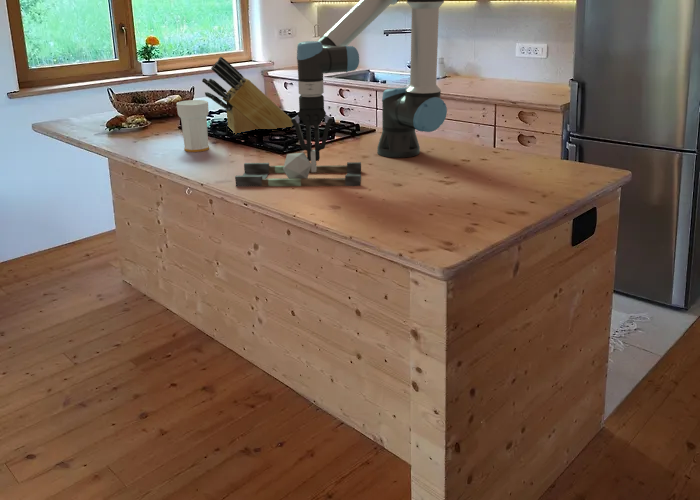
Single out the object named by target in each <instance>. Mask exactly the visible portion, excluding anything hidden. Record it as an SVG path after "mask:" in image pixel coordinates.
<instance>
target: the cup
mask: <svg viewBox="0 0 700 500" xmlns="http://www.w3.org/2000/svg"><path fill="white" fill-rule="evenodd" d="M176 110H177V111H176V112H177V116H178V117H179V118H180V121H181V129H182V136H183V143H184V144H183V145H184V146H183V147H184V148H183V149H184V151H185V152H188V153H201V152H206V151H208V150H210V145H209V139H208V136H209V135H208V122H207V121H208V120H207V117H208V115H209V113H210V111H209V102H208V100H204V99H203V100H202V99H190V100H189V99H188V100H181V101H178V102H176Z"/></svg>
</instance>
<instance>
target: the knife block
mask: <svg viewBox="0 0 700 500" xmlns="http://www.w3.org/2000/svg"><path fill="white" fill-rule="evenodd" d="M210 69H211V70H212V71H213V72H214V73H215V74H216V75H217V76H218V77H219V78H220V79H222V80H223V81H224V82H225V83H226V84H227V85H229V86H230V87H231V88H229V90H226V89H225V88H224V87H222V85H221V84H219V83H218V82H217V81H216V80H215V79H212V78H209V79H206V78H204V77H203V78H202V80H201V81H202V83H204V84H205V85H206V86H207V87H208V88H209V89H211V90H212V91H213V92H214V93H216V94H217V95H218V96H220V97H222V99H220V98H219V97H218V96H216V95H215V94H212V93H211V92H204V95H205V97H207V98H209V99H211V100H212V101H213V102H215V103H216V104H217V105H219V106H220V107H222V108H224V109H226V118H227V127H229V128H230V129H231V130H232V131H233V134H234V133H235V134H234V135H236V134H237V133H241V132H245V131H250V130H255V129H277V128H286V127H291V128H292V127H293V126H294V125H293V123H292V122H291V120H292V117H290V116H289V115H288V114H287V113H286V112H284V110H282V109H281V108H280V107H279V106H278V105H277V104H276V103H275V102H274V101H273V100H272V99H270V98H269V97H268V96H267V95H266V94H265V93H264V92H263V91H262V90H261V89H260V88H258V87H257V86H256V85H255V84H254V83H253V82H252V81H251V80H249V79H248V78H245V76H243V75H242V73H240V72H239V70H238V69H236V68H235V67H234V66H233V65H232V64H231V63H230V62H229V61H227V60H226V59H225V58H224V57H222V56H220V57H219V58H218V60H217V61H216V62H215V63H214V65H212V66H211V68H210Z"/></svg>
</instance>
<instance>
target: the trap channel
mask: <svg viewBox="0 0 700 500" xmlns="http://www.w3.org/2000/svg"><path fill="white" fill-rule="evenodd" d="M243 167H244V168H243V169H244V171H243V172H244V173H243V174H242V175H235V176H234V181H235V187H360V186H361V179H362V162H361V161H360V162H357V161H356V162H355V161H353V162H351V161H349V162H347V163H346V164H345V165H341V164H339V165H334V164H333V165H332V164H331V165H316V168H317V170H316V172H311V168H310V171H309V174H310V173H311V174H315V173H316V174H317V173H318V174H319V173H321V174H324V173H325V174H327V173H328V174H329V173H333V174H335V173H336V174H337V173H340V174H341V173H343V174H345V173H346V174H345V175H344V177H342V178H341V177H339V178H338V177H337V178H335V177H328V178H327V177H319V178H317V177H316V178H315V177H313V178H312V177H311V178H310V177H308V178H288V177H287V178H282V177H281V178H280V177H279V178H268V176H269V174H286V173H285V172H284V170H283V167H284V165H270V162H244V163H243Z"/></svg>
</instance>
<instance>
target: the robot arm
mask: <svg viewBox="0 0 700 500" xmlns="http://www.w3.org/2000/svg"><path fill="white" fill-rule="evenodd" d="M399 1H400V0H359V1H357V3H356V4H355V5H354V6H352V8H351V9H350V10H349V11H348V12H347V13H345V15H343V16H342V17H340V19H339V20H338V21H337V22H336V23H335V24H334V25H333V26H332V27H330V29H329V30H328V31H327V32H326V33H324V35H323V36H321V37H319V39H318V40H317V41H315V40H311V41H310V40H309V41H308V40H307V41H300V42H299V43H298V44H297V47H296V48H297V49H296V61H297V62H296V63H297V74H298V75H297V78H298V81H297V83H298V85H297V87H298V94H299V97H298V105H299V108H298V112H297V115H296V116H295V117H291V119H292V120H291V122H292V123H293V126H294V129H295V132H296V135H297V138H298V139H297V140H298V142H299V145H300V148H301V150H305V151H306V157H307V159H308V160H309V161H310V163H311V172H316V170H317V168H316V166H317V162H319V161H320V158H321V157H320V151H321V150H324V149H325V148H326V144H327V138H328V134H329V130H330V126H331V124H332V123H333V120H334V118H333V116H329V115H328V114H327V112H326V111H325V96H324V95H323V94H325V93H324V92H325V91H324V74H325V75H326V74H334V73H335V74H336V73H348V72H354V71H356V70H357V69H358V68H359V65H360V54H359V51H358V49H357V48H356V47H355V46H353V45H350V44H351V43H352V42H353V41H354V40H355V39H356V38H357V37H358V36H359V35H360V34H361V33H362V32H363V31H365V30H366V28H367V27H369V26H370V24H372V22H374V21H375V20H376V19H377V17H379V16H380V15H381V14H382V13H383V12H384V11H385V10H386V9H387V8H388V7H389V6H391V5H393V6H394V5H396V4H397V3H398V2H399ZM444 2H445V0H406V3H407V5H408V6H410V8H411V28H410V29H411V31H410V35H411V36H410V39H411V40H410V72H409V73H410V75H409V78H410V80H409V81H410V82H409V85H408V86H406V87H405V86H403V87H394V88H387V89H384V91H382V97H381V98H382V99H381V102H382V104H381V105H382V114H381V115H382V122H381V123H382V124H381V125H382V126H381V127H382V132H381V134H380V138H379V141H378V145H377V154H378V155H380V156H382V157H386V158H397V159H398V158H401V159H403V158H410V157H411V158H412V157H415V156H418V155H419V154H421V153H420V152H421V151H420V150H421V149H420V143H419V140H418V137H417V134H416V131H419V132H421V133H423V132H425V133H431V132H435V131H436V130H438V129H440V127H441V126H442V125H443V124H444V122H445V120H446V118H447V114H448V113H447V112H448V107H447V104H446V103H445V102H444V101H445V100H443V99H442V98H441V96H442V95H441V94H442V93H441V92H442V91H441V88H440V87H439V86H438V85H437V79H438V78H437V77H438V76H437V74H438V73H437V71H438V70H437V69H438V45H439V44H438V42H439V41H438V40H439V39H438V38H439V19H440V17H439V14H440V13H439V12H440V11H439V10H440V8H441V6H442V5H443V4H444ZM349 45H350V46H349ZM300 120H301V121H300ZM323 120H324V123H325V126H324V130H323V135H322V140H321V144H320V124H321V123H322V122H323ZM300 122H302V124H304V126H305V135H306V136H305V137H306V138H305V139H304V135H303V132H302V129H301V125H300ZM312 126H313V129H314V131H313V132H314V149H312V133H311V131H312V130H311V129H312V128H311V127H312ZM305 140H306V143H305Z"/></svg>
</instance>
